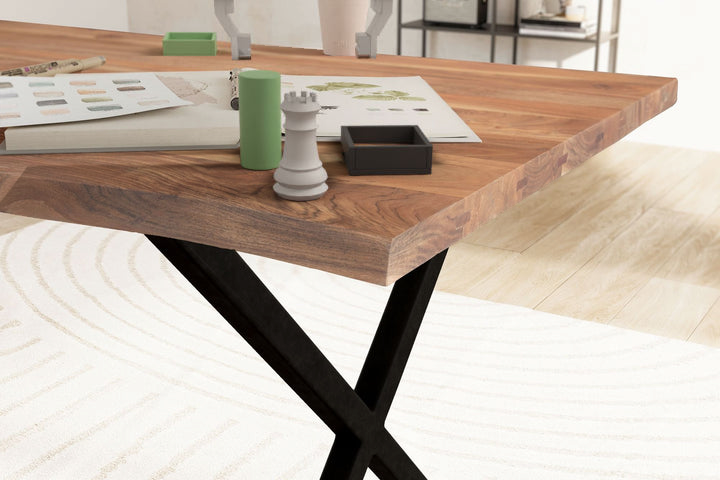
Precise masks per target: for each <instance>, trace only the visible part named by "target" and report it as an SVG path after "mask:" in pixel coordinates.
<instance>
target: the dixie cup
mask: <svg viewBox="0 0 720 480" xmlns="http://www.w3.org/2000/svg"><path fill="white" fill-rule="evenodd" d="M317 6H318V7H317V8H318V15H319V16H318V17H319V25H320V34H321V43H322V52H323V55H327V56H331V57H356V55H355V47H356V45H357V43H356V42H355V33H360V32H366V29H367V28H366V26H367V20H368V13H369V8H370V0H317Z"/></svg>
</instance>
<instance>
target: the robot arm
mask: <svg viewBox="0 0 720 480" xmlns="http://www.w3.org/2000/svg"><path fill="white" fill-rule="evenodd" d="M393 3H394V1H393V0H369V8H370V9H371V10H372V11H373V12H374V13H375V14H374V16H373V18H372V20H371V21H370V23H369V25H368V26H367V28H366V29H365V32H360V33H355V42H356V43H357V45H356V47H355V55H356V56H355V58H356V59H357V60H376V59H377V55H378V36H380V34H381V33H382V31H383V30H384V28H385V26H386V25H387V23H388V21H389V20H390V18H391V16H392V14H393V6H394V5H393ZM213 6H214V7H213V9H214V15H215V17H216V18H217V20H218V22H219V23H220V25H221V27H222V28H223V30H224V31H225V33H226V34H227V36H228V37H229V38H230V48H231V50H230V51H231V60H232V61H236V62H237V61H252V48H251V47H252V44H251V43H252V40H251V39H252V37H251V33H245V32H243V33H240V31H239V30H238V28H237V26H236V24H235V23H234V21H233V19H232V17H231V16H230V15H231V14H234V12H235V3H234V0H213Z"/></svg>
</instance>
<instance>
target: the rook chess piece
mask: <svg viewBox="0 0 720 480" xmlns="http://www.w3.org/2000/svg"><path fill="white" fill-rule="evenodd" d="M283 99H284V100H283V101H281V105H280V106H279V107H280V109H281V112H282V113H283V115H284V117H285V120H284V123H283V124H281V127H282V128H283V129H284V143H283V144H284V145H283V152H282V160H281V161H280V162H279V165H280V166H279V167H277V168H276V169H275V171H274V173H273V180H275V183H274V184H273V186H272V188H273V191H274V192H275V193H276V194H277V196H278V197H280V198H281V199H285V200H289V201H297V202H298V201H299V202H302V201H312V200H318V199H319V198H322V197H323V196H324V195H325V194H326V192H327V191H328V189H329V185H328V184H327V183H326V180H327V179H328V173H327V171H326V169H325V168H324V167H323V162H322V161H321V159H320V156H319V149H318V144H317V143H318V142H317V129H318V128H319V124H318V123H317V119H316V118H317V115H318V114H319V112H320V111H321V109H322V108H323V107H322V105H321V104H320V103H319V101H318V94H317V93H316V92H312V91H311V92H309V96H308V90H301V91H300V96H297V90H296V91H295V90H292V91H288V92H285V93H283Z"/></svg>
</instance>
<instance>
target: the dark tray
mask: <svg viewBox="0 0 720 480" xmlns="http://www.w3.org/2000/svg"><path fill="white" fill-rule="evenodd" d="M379 143H380V144H381V143H382V144H383V145H382V144H381V145H380V144H379ZM384 143H385V145H384ZM386 143H387V144H388V143H389V144H388V145H387V144H386ZM390 143H391V144H390ZM392 143H393V144H392ZM394 143H395V144H394ZM397 143H413V144H397ZM340 144H341V146H342V150H343V151H341V152H340V154H341V156H342V157H341V158H342V160H343V162H344V165H345V167H346V170H347V174H348V176H378V175H381V176H384V175H385V176H386V175H388V176H389V175H431V174H432V172H433V169H432V168H433V154H434V153H433V152H434V145H432V143H431V141H430V140H429V139H428V137H427V136H426V135H425V133H424V132H423V130H422V129H421V128H420V125H418V124H385V125H384V124H380V125H379V124H377V125H376V124H375V125H370V124H369V125H340ZM355 144H375V145H355ZM377 144H379V145H377Z"/></svg>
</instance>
